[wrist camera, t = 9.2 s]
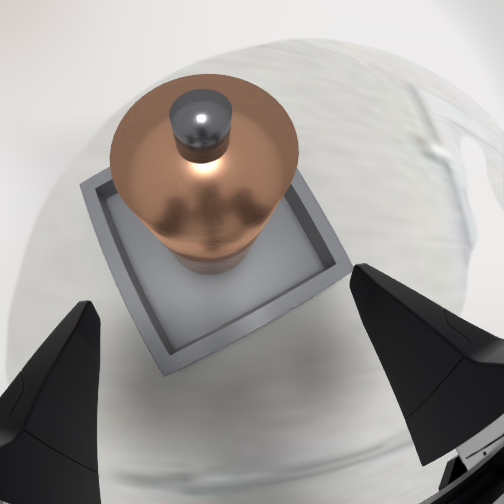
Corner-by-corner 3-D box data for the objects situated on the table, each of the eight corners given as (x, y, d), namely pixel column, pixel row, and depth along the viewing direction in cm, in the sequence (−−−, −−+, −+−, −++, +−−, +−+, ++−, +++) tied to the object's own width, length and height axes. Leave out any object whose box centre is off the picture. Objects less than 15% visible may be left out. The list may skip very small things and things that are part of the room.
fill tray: (337, 274, 21) (355, 270, 18) (170, 365, 19) (164, 376, 16) (249, 125, 23) (254, 104, 20) (94, 198, 20) (79, 184, 17)
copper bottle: (268, 224, 20) (348, 107, 7) (219, 291, 19) (221, 274, 6) (203, 178, 20) (193, 25, 7) (152, 241, 19) (55, 142, 6)
